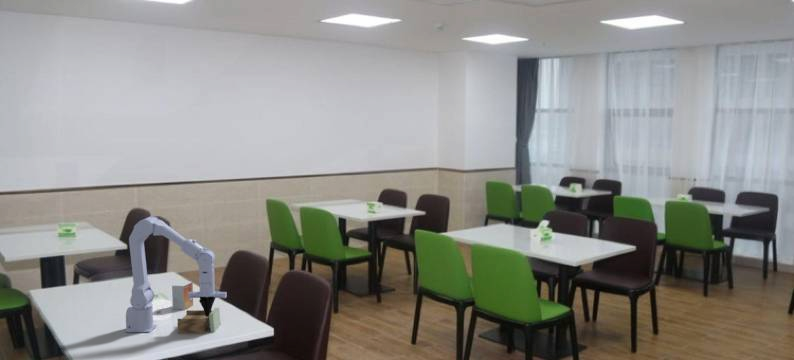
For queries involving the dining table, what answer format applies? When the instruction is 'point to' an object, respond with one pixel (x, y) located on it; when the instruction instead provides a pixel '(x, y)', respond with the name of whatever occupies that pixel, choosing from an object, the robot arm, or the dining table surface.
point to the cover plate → (214, 319)
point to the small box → (182, 295)
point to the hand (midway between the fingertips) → (208, 315)
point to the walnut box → (194, 322)
